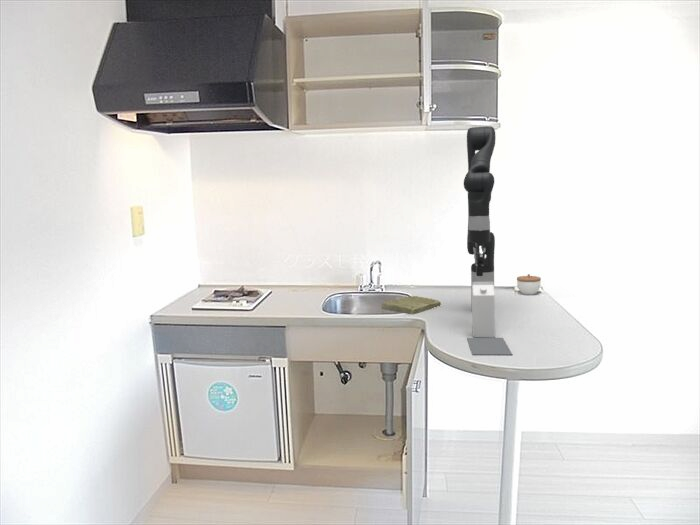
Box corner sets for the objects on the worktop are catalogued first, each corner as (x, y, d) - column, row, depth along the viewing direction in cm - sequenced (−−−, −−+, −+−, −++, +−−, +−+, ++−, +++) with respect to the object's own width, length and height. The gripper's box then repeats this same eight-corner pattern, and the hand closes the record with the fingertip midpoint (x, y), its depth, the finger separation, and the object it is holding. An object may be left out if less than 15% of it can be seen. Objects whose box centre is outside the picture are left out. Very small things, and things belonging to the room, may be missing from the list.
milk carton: (472, 332, 185) (471, 280, 182) (492, 332, 183) (492, 279, 181) (473, 337, 178) (473, 283, 175) (494, 337, 176) (494, 283, 174)
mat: (467, 338, 177) (466, 337, 177) (502, 338, 175) (502, 337, 175) (472, 355, 159) (472, 354, 159) (512, 355, 158) (512, 354, 158)
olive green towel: (441, 307, 228) (441, 299, 227) (412, 315, 214) (412, 307, 213) (408, 301, 241) (408, 294, 240) (379, 309, 227) (379, 301, 227)
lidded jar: (519, 296, 241) (519, 276, 240) (515, 291, 252) (515, 272, 250) (543, 295, 240) (543, 275, 238) (537, 291, 250) (537, 272, 249)
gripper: (466, 227, 193) (467, 273, 195) (470, 230, 180) (470, 279, 182) (487, 227, 192) (487, 272, 194) (492, 229, 179) (492, 278, 181)
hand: (479, 275), depth 188 cm, fingers closed
